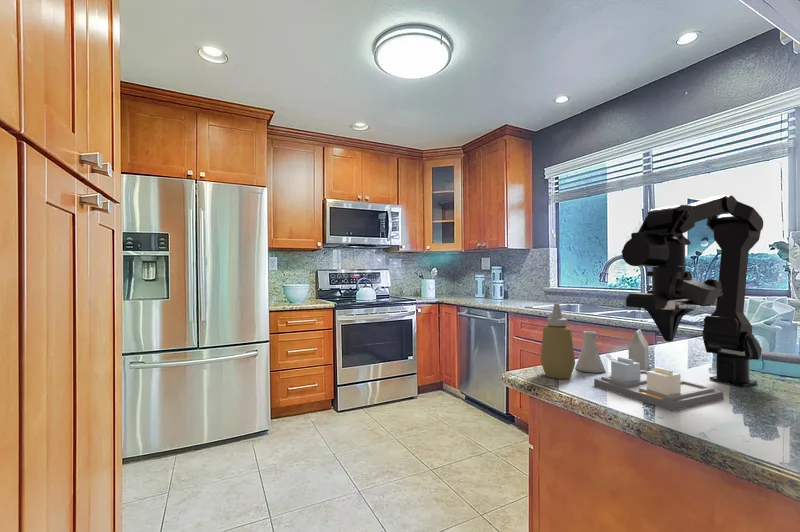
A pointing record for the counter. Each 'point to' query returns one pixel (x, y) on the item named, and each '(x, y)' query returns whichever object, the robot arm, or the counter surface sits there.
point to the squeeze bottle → (557, 347)
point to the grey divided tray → (638, 390)
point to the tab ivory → (663, 381)
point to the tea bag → (639, 350)
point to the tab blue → (625, 370)
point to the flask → (589, 355)
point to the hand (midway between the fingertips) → (668, 341)
